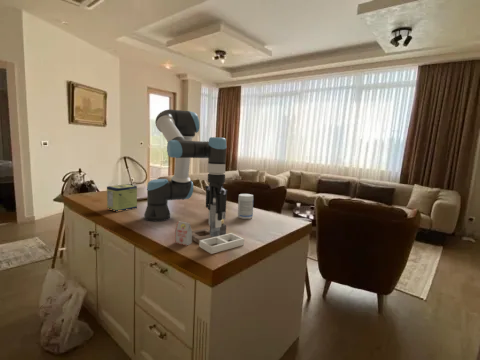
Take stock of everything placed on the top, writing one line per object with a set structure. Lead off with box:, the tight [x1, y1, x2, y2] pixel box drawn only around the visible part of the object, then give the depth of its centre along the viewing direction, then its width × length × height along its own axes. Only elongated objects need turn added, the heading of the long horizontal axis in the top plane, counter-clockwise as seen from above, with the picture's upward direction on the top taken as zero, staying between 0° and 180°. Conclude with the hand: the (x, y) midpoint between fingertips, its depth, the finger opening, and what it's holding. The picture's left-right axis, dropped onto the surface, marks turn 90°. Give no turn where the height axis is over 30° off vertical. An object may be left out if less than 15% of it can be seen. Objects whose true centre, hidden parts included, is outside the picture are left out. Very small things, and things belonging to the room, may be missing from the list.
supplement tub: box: [237, 193, 254, 220], centre depth 171 cm, size 10×10×15 cm
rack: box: [198, 232, 245, 255], centre depth 123 cm, size 10×18×3 cm, turn 130°
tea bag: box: [174, 220, 193, 247], centre depth 124 cm, size 4×7×10 cm, turn 65°
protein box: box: [106, 183, 138, 211], centre depth 177 cm, size 10×16×16 cm
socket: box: [192, 223, 227, 244], centre depth 135 cm, size 12×18×5 cm, turn 130°
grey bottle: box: [209, 197, 221, 237], centre depth 118 cm, size 4×4×17 cm
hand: (214, 225), depth 119 cm, fingers closed on grey bottle, 4 cm apart
